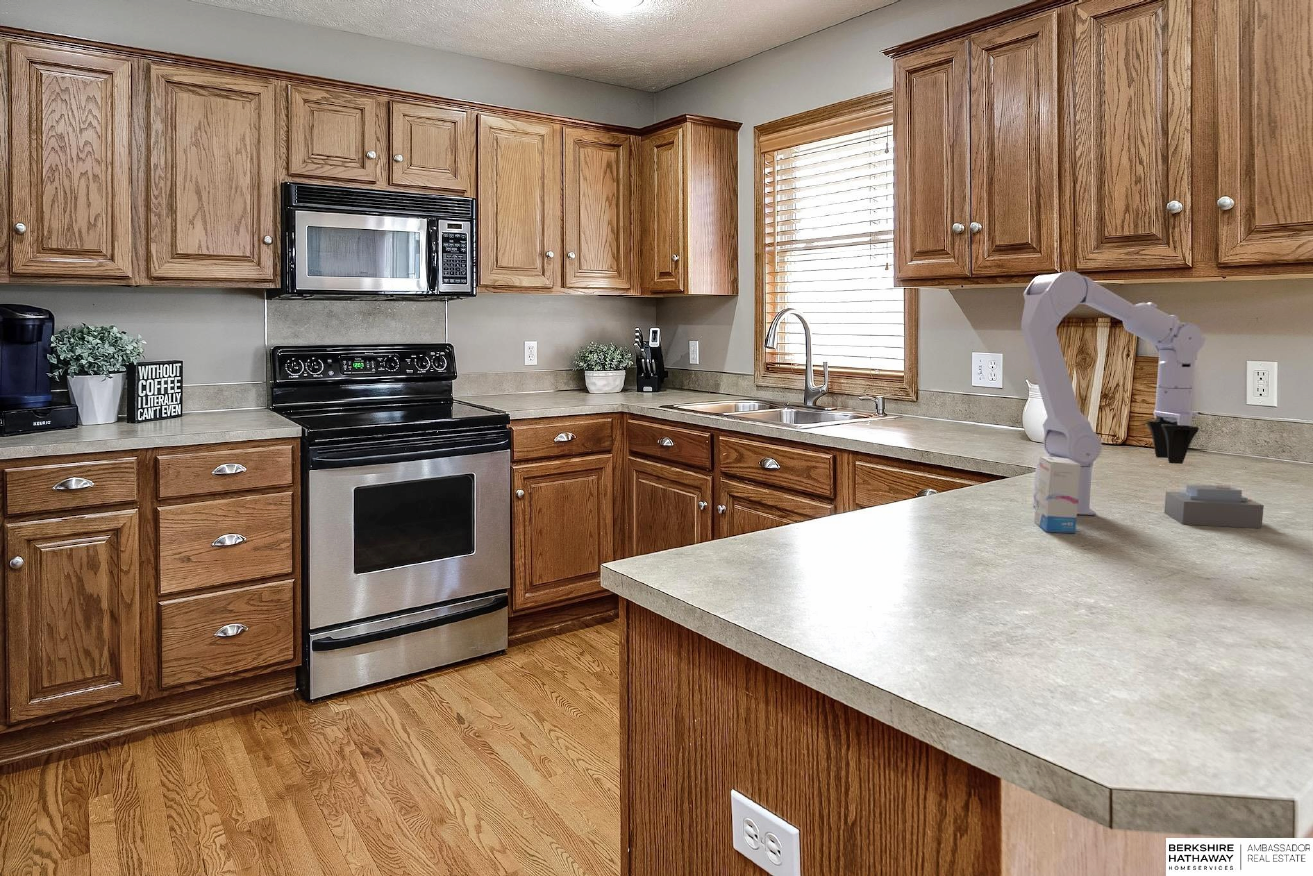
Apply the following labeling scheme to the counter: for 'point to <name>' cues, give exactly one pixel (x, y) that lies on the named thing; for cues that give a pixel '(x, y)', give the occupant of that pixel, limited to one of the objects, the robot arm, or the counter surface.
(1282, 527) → the counter surface
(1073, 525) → the ink box
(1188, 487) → the servo
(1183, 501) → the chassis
